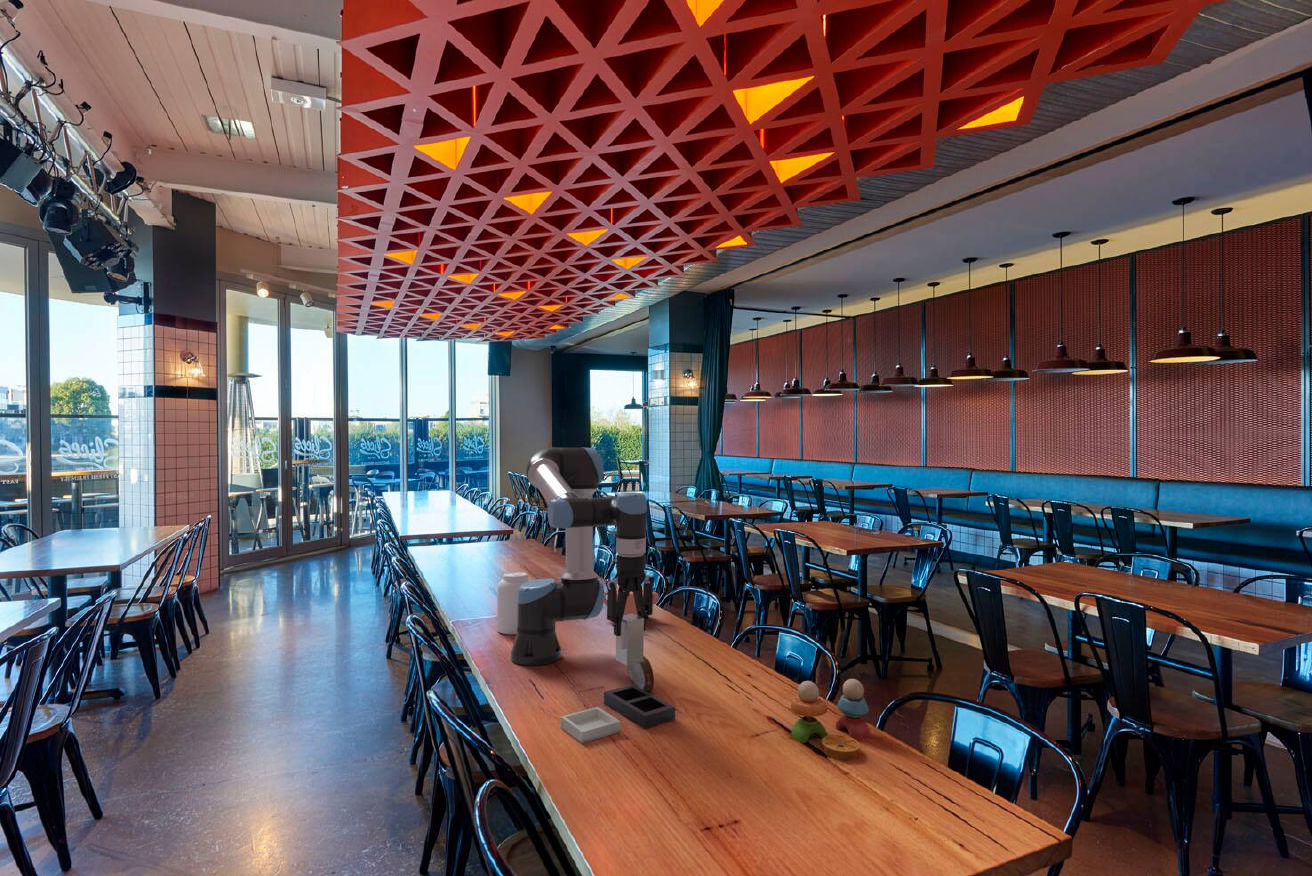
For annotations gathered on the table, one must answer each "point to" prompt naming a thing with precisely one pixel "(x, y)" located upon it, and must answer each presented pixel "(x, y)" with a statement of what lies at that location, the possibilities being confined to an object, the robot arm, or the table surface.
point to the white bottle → (509, 601)
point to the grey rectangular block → (632, 640)
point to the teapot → (630, 602)
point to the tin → (642, 674)
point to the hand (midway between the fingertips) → (629, 645)
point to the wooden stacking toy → (852, 720)
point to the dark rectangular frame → (639, 706)
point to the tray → (590, 724)
